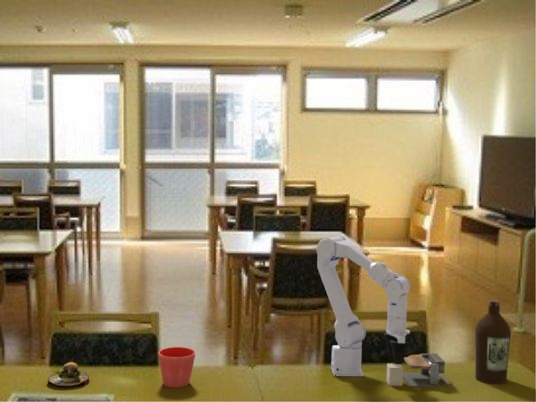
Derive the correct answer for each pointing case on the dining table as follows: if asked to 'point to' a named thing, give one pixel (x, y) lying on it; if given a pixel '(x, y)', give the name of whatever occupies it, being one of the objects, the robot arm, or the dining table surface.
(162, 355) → the flower pot
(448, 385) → the frame
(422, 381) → the mat
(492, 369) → the olive oil
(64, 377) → the burger
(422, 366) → the trapdoor
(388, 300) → the robot arm
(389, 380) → the white rectangular block
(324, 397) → the dining table surface
